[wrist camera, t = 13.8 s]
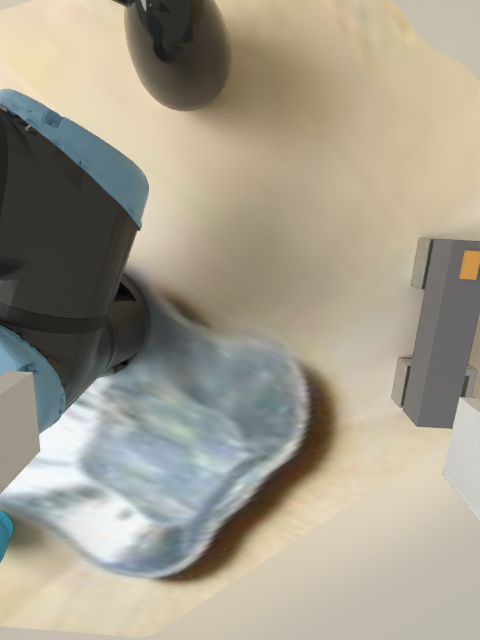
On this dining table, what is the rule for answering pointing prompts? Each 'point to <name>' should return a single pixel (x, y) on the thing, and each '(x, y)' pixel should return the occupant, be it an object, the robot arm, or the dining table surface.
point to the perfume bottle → (4, 533)
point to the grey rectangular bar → (444, 333)
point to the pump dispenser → (178, 50)
